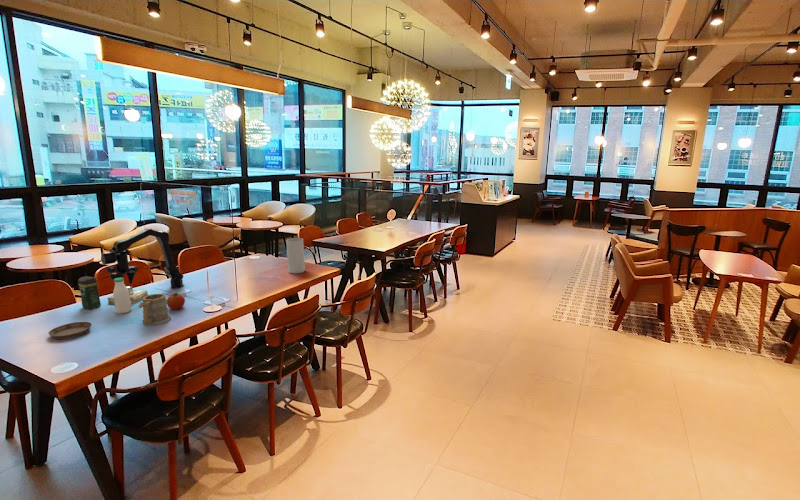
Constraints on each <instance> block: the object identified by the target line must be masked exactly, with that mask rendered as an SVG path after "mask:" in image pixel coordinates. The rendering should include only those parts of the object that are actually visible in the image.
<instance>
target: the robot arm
mask: <svg viewBox="0 0 800 500" xmlns="http://www.w3.org/2000/svg"><path fill="white" fill-rule="evenodd" d="M150 236H152V237H155V239H156V241H157V242H158V244H159V245H160V248H161V252H162V255H163V258H164V261H165V267H163V270H164V274H166V276H168V277H169V278H170V289H181V288H182V287H184V286H185V284H184V283H183V278H184V275H183V273H181V272H180V271H179V268H178V267H177V266H176V264H175V262H174V258H173V256H172V251H171V248H170V245H169V242H170V235H169V233H168V232H167V231H164V230H163V231H162V230H155V229H152V228H145V229H144V230H141V231H139V232H137V233H136V234H134V235H131V236H130V237H126V238H122V239H119V240H116V241H114V242H113V244H112V245H113V246H112V248H111V249H110V251H109V252H103V253H102V254H101V258H100V259H101V263H102V265H105V266H106V265H110V264H115V266H108V267H107V268H106V272H108V273H109V279H110V280H111V279H112V280H114V279H115V278H124V279H125V274H126V275H127V278H128V283H129V284H132V283H133V281H134V278H135V276H136V274H137V273H138V272H137V271H139V268H138V267H137V266H136V265H135V266H132V265H131V266H130V264H131V261H129V257H128V254H131V251H130V250H128V249H129V248H130V247H132V245H134V244H136V243H137V242H139V241H141V240H143V239H146V238H147V237H150Z"/></svg>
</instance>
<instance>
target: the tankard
mask: <svg viewBox="0 0 800 500" xmlns="http://www.w3.org/2000/svg"><path fill="white" fill-rule="evenodd" d="M167 299H168V298H166V295H165V293H153V294H148V296H145V297H143V298H142V299H141V300H142V301H140V302H139V304H138V305H137V306H138V308H139V309H143V310H142V323H143V324H144V325H145V326H158V325H162V324H166V323H167V322H169V321H170V320H171V319H172V317H171V315H170V314H169V307H168V305H167V304H168V303H167Z"/></svg>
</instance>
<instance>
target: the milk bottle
mask: <svg viewBox="0 0 800 500" xmlns="http://www.w3.org/2000/svg"><path fill="white" fill-rule="evenodd" d="M113 282H114V289H113V292H112V295H113V297H114V303H113V304H114V308H115V309H114V310H115V313H116V314H120V315H121V314H126V313H129V312H131V311H132V303H131V302H130V296H129V291H128V289H127V287H128V286H126V284H125V277H124V278H115V279H113Z"/></svg>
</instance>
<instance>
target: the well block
mask: <svg viewBox="0 0 800 500" xmlns="http://www.w3.org/2000/svg"><path fill="white" fill-rule="evenodd" d="M148 295H149V294H148V290H145V289H144V290H143V289H142V290H134V289H133V294H132V295H129V296H130V302H131V304H136V303H137V302H139V301H141V300H143V299H142V298H143V297H145V296H148ZM107 301H108V304H114V297H113V294H112V295H110V296H109V297H107Z"/></svg>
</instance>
